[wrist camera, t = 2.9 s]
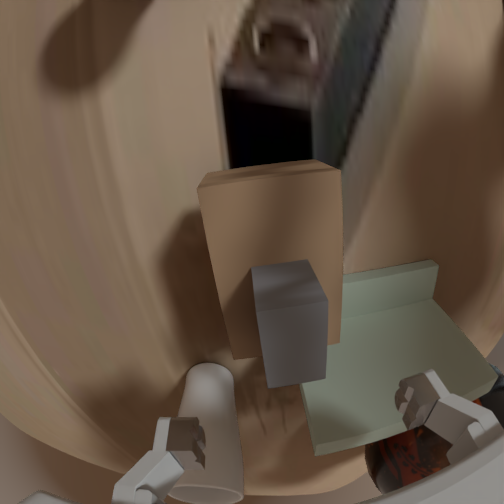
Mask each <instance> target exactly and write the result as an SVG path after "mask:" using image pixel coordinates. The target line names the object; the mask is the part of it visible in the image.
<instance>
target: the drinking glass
mask: <svg viewBox="0 0 504 504" xmlns="http://www.w3.org/2000/svg"><path fill="white" fill-rule="evenodd" d="M177 417H197V418H198V420H199V425H200V426H202V427H203V429H204V433H205V439H206V447H205V448H204V450H203V453H204V455H205V470H184V473H183V474H182V476H181V477H180V478H179V480H178V481H177V482H176V484H175V485H174V486H173V488H172V489H171V491H170V492H169V493H168V495H169V496H171V497H173V498H175V499H177V500H180V501H184V502H188V503H193V504H232V503H236V502H238V501H240V500H242V499H243V497H244V466H243V455H242V448H241V441H240V434H239V427H238V419H237V412H236V404H235V395H234V379H233V376H232V374H231V372H230V371H229V370H228V369H227V368H225V367H224V366H222V365H219V364H215V363H201V364H197V365H195V366H193V367H192V368H191V369H190V370H189V371H188V373H187V376H186V382H185V388H184V392H183V396H182V400H181V403H180V407H179V411H178V415H177Z"/></svg>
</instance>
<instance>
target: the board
mask: <svg viewBox="0 0 504 504" xmlns="http://www.w3.org/2000/svg"><path fill="white" fill-rule="evenodd" d="M438 268H439V265H438V264H437V263H435V262H434V261H433V260H432V259H430V260H424V261H419V262H414V263H409V264H403V265H398V266H392V267H387V268H381V269H376V270H370V271H364V272H358V273H352V274H346V275H343V290H342V314H341V331H340V343H337V344H333V345H328V346H327V364H326V379H322V380H317V381H312V382H306V383H301V384H299V386H300V391H301V395H302V400H303V404H304V409H305V413H306V418H307V422H308V427H309V431H310V436H311V440H312V445H313V450H314V454H315V456H320V455H325V454H329V453H334V452H338V451H342V450H346V449H350V448H354V447H358V446H361V445H365V444H368V443H372V442H375V441H378V440H381V439H385V438H388V437H391V436H393V435H396V434H399V433H402V432H405V431H407V428H406V426H405V424H404V422H403V420H402V417H403V414H402V413H400V412H399V411H398V410H397V408H396V405H395V393H396V391H397V390H398V389H399V388H400V387H399V382H400V380H402V379H404V378H407V377H409V376H412V375H415V374H417V373H420V372H424V371H426V370H429V369H433V370H434V371H435V372H436V374H437V375H438V377H439V378H440V380H441V381H442V383H443V384H444V385H445V387H446V388H447V390H448V391H449V393H450V394H452V393H454V394H456V395H458V396H460V397H462V398H464V399H467V400H469V401H471V402H472V401H474V400H475V399H477V398H479V397H481V396H483V395H484V394H486V393H488V392H489V391H490V390H491V388H492V387H493V385H494V383H495V382H496V380H497V378H498V375H497V373H496V372H495V371H494V370H493V368H492V367H491V366H490V364H489V363H488V362H487V361H486V359H485V358H484V357H483V356H482V354H481V353H480V352H479V351H478V350H477V348H476V347H475V346H474V345H473V344H472V342H471V341H470V340H469V339H468V338H467V336H466V335H465V334H464V333H463V332H462V331H461V329H460V328H459V327H458V326H457V325H456V324H455V323H454V321H453V320H452V319H451V318H450V317H449V316H448V315H447V314H446V313H445V312H444V310H443V309H442V308H441V307H440V306H439V305H438V304H437V303H436V302H435V301H434V300H433V299H432V298H433V294H434V289H435V284H436V279H437V274H438Z"/></svg>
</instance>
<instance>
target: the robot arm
mask: <svg viewBox="0 0 504 504" xmlns="http://www.w3.org/2000/svg"><path fill="white" fill-rule="evenodd" d="M399 387H400V388H399V389H398V390H397V391H396V393H395V405H396V408H397V410H398V411H399V412H400V413H402V414H403V417H402V420H403V422H404V424H405V426H406V428H407V430H410V429H413V428H416V427H418V426H421V425H423V424H424V425H425V426H426V427H428V428H429V429H431V430H432V431H434V432H435V433H437V434H438V435H440V436H441V437H443V438H444V439H446V440H447V441H449V442H450V443H452V444H453V446H452V447H451V448H450V450H449V451H448V452H447V454H446V456H447V458H448V460H449V462H450V464H451V465H449V466H447V467H445V468H443V469H442V470H440V471H438V472H436V473H434V474H432V475H429V476H427V477H425V478H423V479H421V480H419V481H416V482H414V483H412V484H409V485H407V486H405V487H402V488H400V489H397V490H395V491H392V492H389V493H387V494H384V495H381V496H378V497H375V498H372V499H369V500H366V501H363V502H360V503H356V504H504V429H503V428H502V426H501V425H500V423H499V421H498V420H497V418H496V417H495V415H494V414H493V412H492V411H491V410H489V409H486V408H484V407H482V406H480V405H477V404H475V403H473V402H471V401H469V400H467V399H464V398H462V397H460V396H458V395H456V394H454V393H452V394H450V393H449V391H448V390H447V388H446V387H445V385H444V384H443V383H442V381H441V380H440V378H439V377H438V375H437V374H436V372H435V371H434V370H433V369H429V370H426V371H424V372H420V373H417V374H415V375H412V376H409V377H407V378H404V379H402V380H400V382H399ZM205 447H206V439H205V433H204V429H203V427H202V426H200V425H199V420H198V418H197V417H159V419H158V421H157V426H156V432H155V437H154V443H153V449H152V450H149V451H148V452H147V453H146V454H145V455H144V456H143V457H142V458H141V459H140V460H139V461H138V462H137V463H136V464H135V465H134V466H133V467H132V468H131V469H130V470H129V471H128V472H127V473H126V474H125V475H124V476H123V477H122V478H121V479H120V480H119V481H118V482H117V483H116V484H115V487H114V492H113V497H112V503H111V504H167V503H165V502H164V501H163V500H164V499H165V497H166V495H168V493H169V492H170V491H171V489H172V488H173V486H174V485H175V484H176V482H177V481H178V480H179V478H180V477H181V476H182V474H183V473H184V470H205V455H204V453H203V450H204V448H205ZM18 504H81V503H78V502H75V501H72V500H69V499H66V498H63V497H60V496H57V495H55V494H52V493H49V492H47V491H43V490H38V491H36V492H34V493H32V494H31V495H30V496H28V497H26V498H25V499H23V500H22V501H21V502H19V503H18Z"/></svg>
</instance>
